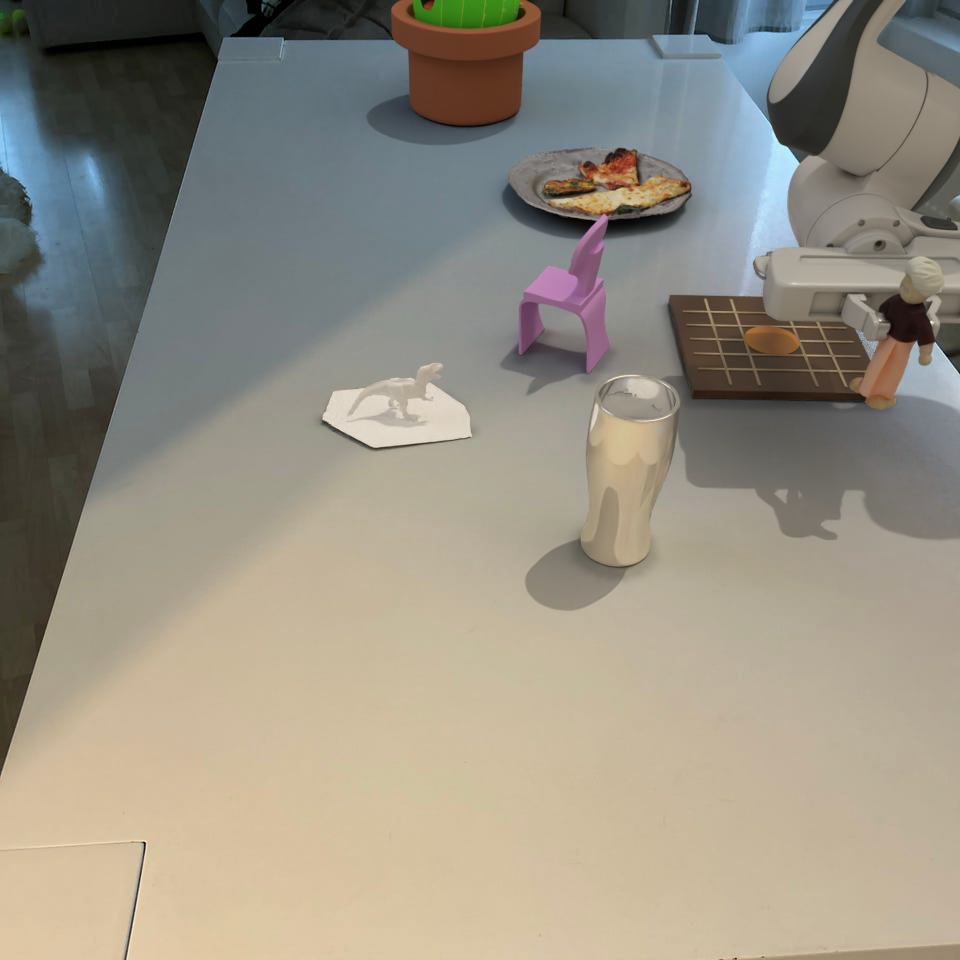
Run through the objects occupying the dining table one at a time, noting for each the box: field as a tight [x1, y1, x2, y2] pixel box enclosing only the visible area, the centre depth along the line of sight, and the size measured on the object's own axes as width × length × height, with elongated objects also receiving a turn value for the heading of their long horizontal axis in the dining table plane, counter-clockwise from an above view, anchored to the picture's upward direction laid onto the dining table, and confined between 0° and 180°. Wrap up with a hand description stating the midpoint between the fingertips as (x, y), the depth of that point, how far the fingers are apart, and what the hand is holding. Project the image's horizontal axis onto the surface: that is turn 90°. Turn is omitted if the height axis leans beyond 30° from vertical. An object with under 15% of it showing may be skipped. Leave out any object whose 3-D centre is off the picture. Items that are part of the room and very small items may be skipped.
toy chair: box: [518, 214, 611, 374], centre depth 102 cm, size 8×9×15 cm
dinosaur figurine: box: [322, 362, 473, 449], centre depth 97 cm, size 15×12×6 cm
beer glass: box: [579, 373, 681, 568], centre depth 80 cm, size 7×7×15 cm
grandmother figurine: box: [849, 256, 945, 411], centre depth 81 cm, size 8×4×13 cm, turn 29°
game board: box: [668, 294, 871, 402], centre depth 108 cm, size 20×20×1 cm
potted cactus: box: [390, 0, 542, 127], centre depth 148 cm, size 22×22×25 cm
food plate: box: [507, 146, 693, 222], centre depth 134 cm, size 25×23×4 cm
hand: (904, 333), depth 81 cm, fingers closed on grandmother figurine, 3 cm apart
